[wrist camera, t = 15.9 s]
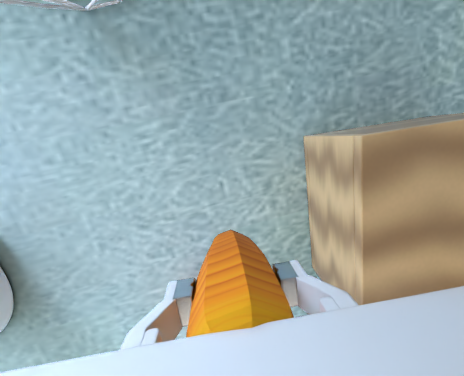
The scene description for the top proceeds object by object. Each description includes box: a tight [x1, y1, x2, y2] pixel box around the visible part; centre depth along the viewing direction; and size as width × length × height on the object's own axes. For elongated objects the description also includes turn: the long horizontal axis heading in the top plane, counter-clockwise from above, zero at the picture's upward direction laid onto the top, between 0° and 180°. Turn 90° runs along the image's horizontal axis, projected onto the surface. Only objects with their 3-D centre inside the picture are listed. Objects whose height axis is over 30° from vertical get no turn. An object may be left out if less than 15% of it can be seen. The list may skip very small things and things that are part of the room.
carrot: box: [186, 230, 294, 337], centre depth 12 cm, size 5×5×15 cm
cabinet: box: [304, 113, 464, 305], centre depth 19 cm, size 15×13×9 cm
